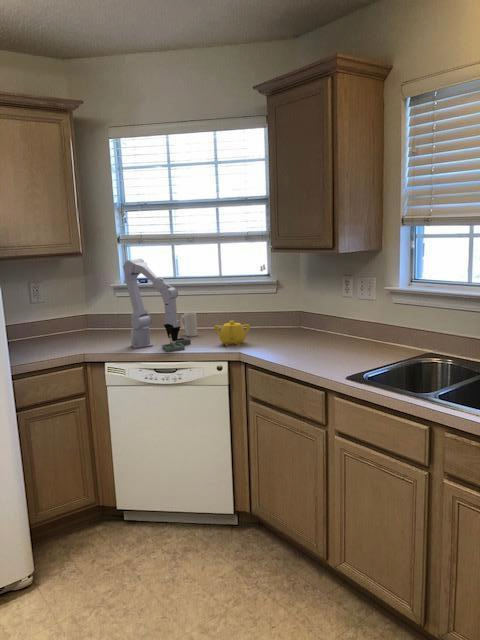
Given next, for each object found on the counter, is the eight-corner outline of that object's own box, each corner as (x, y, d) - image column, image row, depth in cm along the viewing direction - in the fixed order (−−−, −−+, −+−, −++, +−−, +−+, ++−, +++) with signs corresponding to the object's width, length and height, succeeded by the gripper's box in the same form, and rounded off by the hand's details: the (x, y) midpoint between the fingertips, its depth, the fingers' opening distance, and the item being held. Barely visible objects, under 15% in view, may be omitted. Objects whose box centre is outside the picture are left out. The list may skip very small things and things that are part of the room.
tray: (166, 351, 263) (166, 348, 263) (162, 348, 272) (162, 344, 271) (184, 349, 267) (184, 346, 266) (179, 346, 275) (179, 342, 275)
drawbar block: (173, 346, 274) (173, 341, 274) (170, 343, 281) (169, 339, 280) (190, 344, 277) (190, 339, 277) (186, 341, 284) (186, 337, 283)
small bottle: (176, 348, 268) (175, 334, 267) (170, 348, 267) (169, 334, 266) (175, 346, 271) (174, 333, 269) (169, 347, 270) (168, 333, 269)
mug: (199, 334, 301) (198, 312, 299) (193, 336, 295) (192, 315, 293) (184, 333, 306) (183, 312, 304) (178, 335, 300) (176, 314, 298)
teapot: (212, 345, 274) (211, 322, 271) (233, 339, 283) (231, 317, 281) (231, 348, 264) (230, 324, 262) (252, 343, 274) (251, 320, 272)
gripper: (182, 313, 261) (184, 341, 263) (174, 309, 274) (176, 335, 276) (168, 315, 258) (170, 342, 260) (161, 310, 271) (163, 337, 274)
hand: (172, 339), depth 268 cm, fingers open, 7 cm apart
